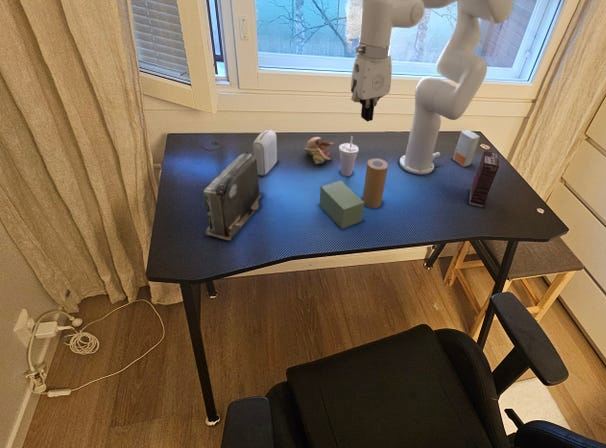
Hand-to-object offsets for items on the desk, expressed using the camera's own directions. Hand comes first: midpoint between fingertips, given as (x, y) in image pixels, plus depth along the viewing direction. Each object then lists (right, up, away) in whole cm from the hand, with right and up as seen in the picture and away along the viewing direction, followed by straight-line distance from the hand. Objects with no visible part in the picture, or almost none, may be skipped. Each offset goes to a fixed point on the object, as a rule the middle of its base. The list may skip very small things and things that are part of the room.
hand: (366, 118), depth 108 cm
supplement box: (+36, -21, +24) cm, 48 cm away
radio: (-37, -26, +1) cm, 45 cm away
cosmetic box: (+34, -6, +42) cm, 54 cm away
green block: (-8, -26, +8) cm, 28 cm away
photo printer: (-34, -11, +20) cm, 41 cm away
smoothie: (-8, -12, +25) cm, 29 cm away
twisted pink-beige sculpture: (-18, -6, +29) cm, 35 cm away
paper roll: (-2, -23, +11) cm, 26 cm away
